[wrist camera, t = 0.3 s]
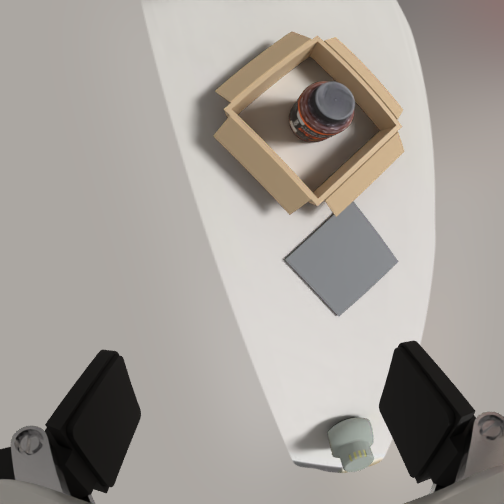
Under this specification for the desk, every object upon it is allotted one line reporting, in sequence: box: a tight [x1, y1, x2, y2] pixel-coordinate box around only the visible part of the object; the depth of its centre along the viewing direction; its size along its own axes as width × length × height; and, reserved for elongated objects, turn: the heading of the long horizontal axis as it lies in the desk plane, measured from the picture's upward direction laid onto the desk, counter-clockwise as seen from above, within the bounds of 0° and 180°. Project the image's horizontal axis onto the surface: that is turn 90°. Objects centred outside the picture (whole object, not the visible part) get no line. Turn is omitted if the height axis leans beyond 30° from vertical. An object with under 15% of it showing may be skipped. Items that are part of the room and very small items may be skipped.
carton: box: [213, 32, 404, 217], centre depth 31 cm, size 21×21×5 cm
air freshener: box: [327, 418, 374, 472], centre depth 42 cm, size 11×8×10 cm
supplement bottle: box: [289, 81, 355, 142], centre depth 28 cm, size 6×6×11 cm
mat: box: [285, 202, 398, 316], centre depth 38 cm, size 12×12×1 cm
